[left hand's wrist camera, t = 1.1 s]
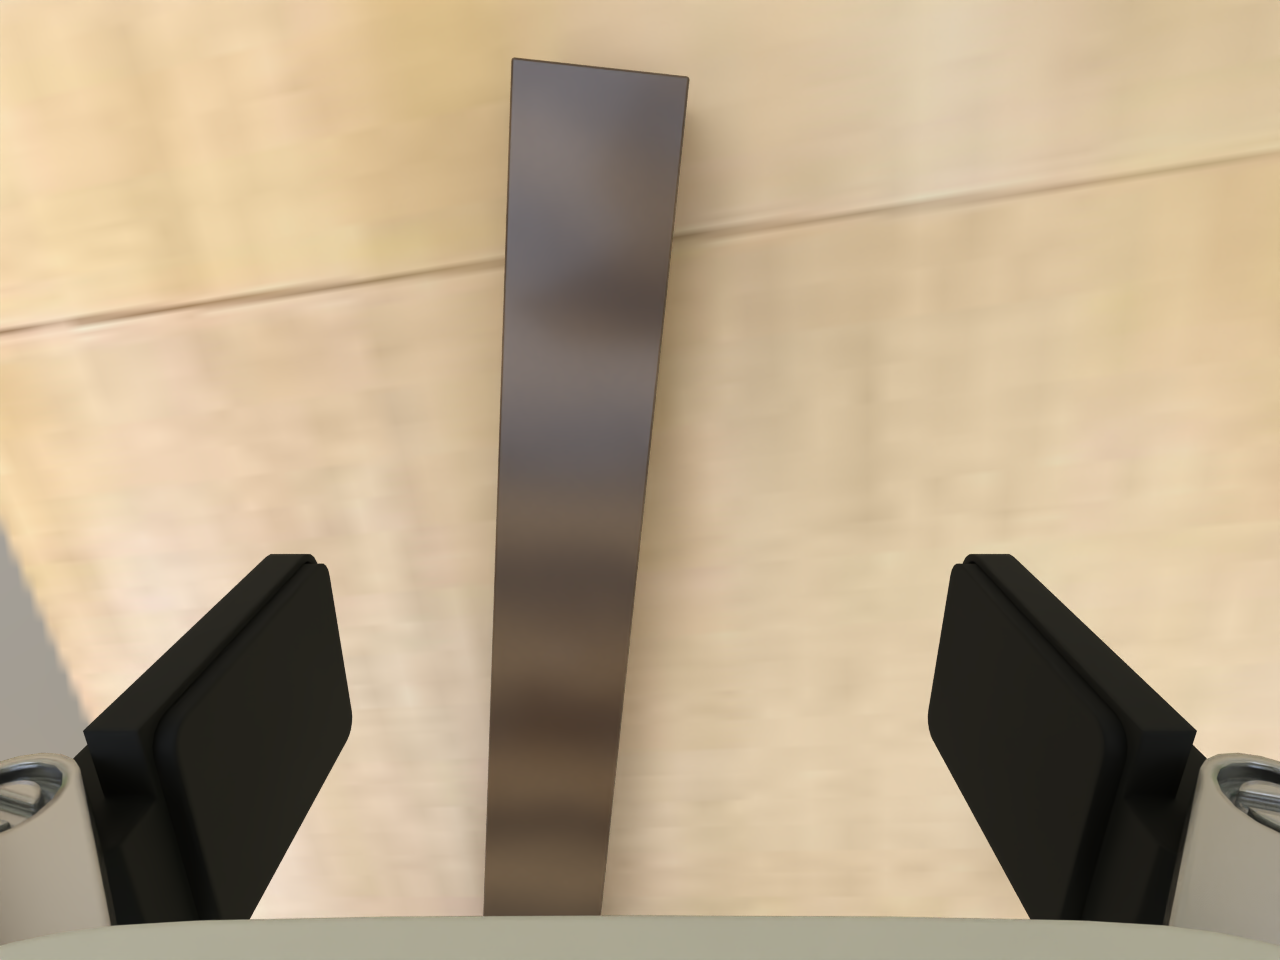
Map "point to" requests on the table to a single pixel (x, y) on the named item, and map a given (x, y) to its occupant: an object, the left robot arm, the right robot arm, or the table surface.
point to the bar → (573, 461)
